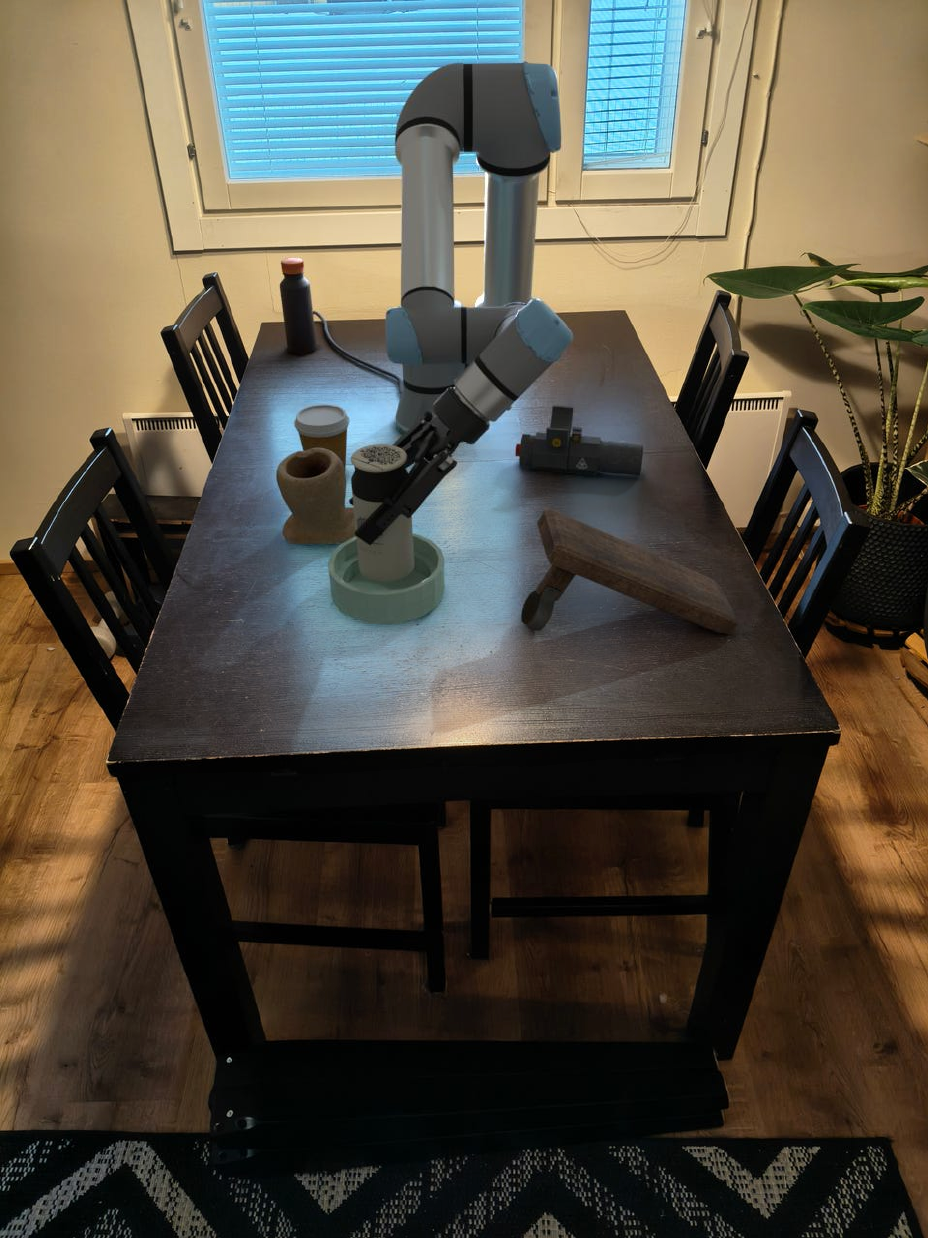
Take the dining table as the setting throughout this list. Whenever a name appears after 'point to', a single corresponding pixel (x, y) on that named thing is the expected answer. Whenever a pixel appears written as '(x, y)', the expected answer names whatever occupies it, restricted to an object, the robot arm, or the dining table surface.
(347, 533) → the stone cup
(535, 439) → the laser sight
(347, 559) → the bowl
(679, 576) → the dark brown angled bar
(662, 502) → the dining table surface
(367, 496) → the travel mug
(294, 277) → the water bottle
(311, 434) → the disposable coffee cup
